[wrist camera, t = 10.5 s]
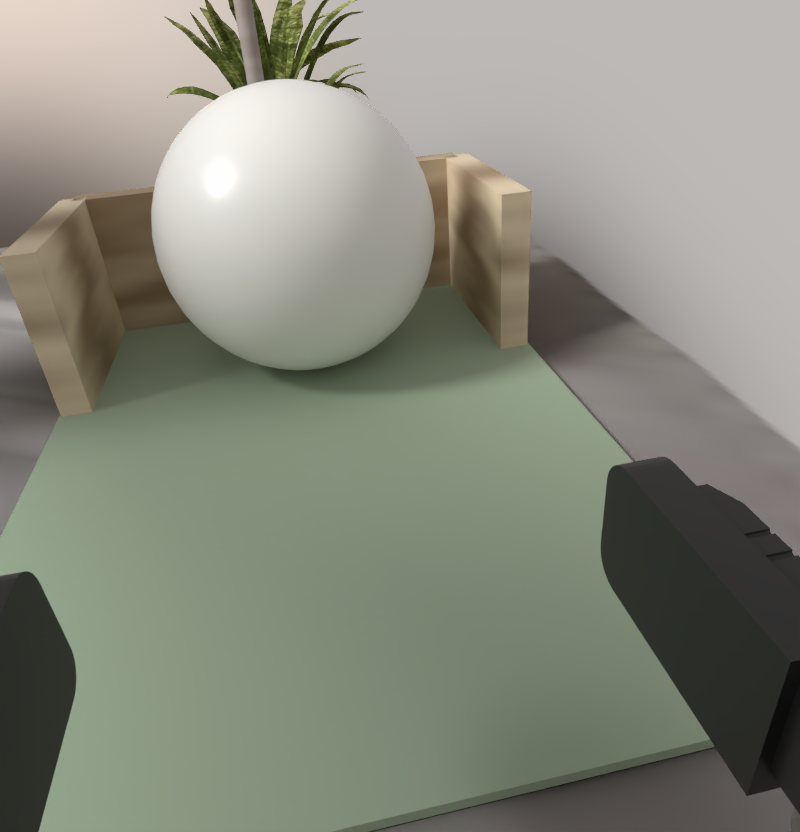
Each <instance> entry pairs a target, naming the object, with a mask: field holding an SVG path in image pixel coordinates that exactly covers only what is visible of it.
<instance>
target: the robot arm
mask: <svg viewBox="0 0 800 832" xmlns="http://www.w3.org/2000/svg"><path fill="white" fill-rule="evenodd" d="M601 559H602V564H603V568H604V571H605V574H606V577H607V580H608V582H609V584H610V586H611V588H612V589H613V591H614V592H615V594H616V595H617V597H618V599H619V600H620V602H621V603H622V605H623V606H624V608H625V609H626V611H627V612H628V614H629V615H630V617H631V619H632V620H633V622H634V623H635V625H636V626H637V628H638V629H639V631H640V632H641V634H642V635H643V637H644V639H645V640H646V642H647V643H648V645H649V646H650V648H651V649H652V651H653V652H654V654H655V655H656V657H657V658H658V660H659V662H660V663H661V665H662V666H663V668H664V669H665V671H666V672H667V674H668V675H669V677H670V678H671V680H672V682H673V683H674V685H675V686H676V688H677V689H678V691H679V692H680V694H681V695H682V697H683V698H684V700H685V701H686V703H687V705H688V706H689V708H690V709H691V711H692V712H693V714H694V715H695V717H696V718H697V720H698V721H699V723H700V725H701V726H702V728H703V729H704V731H705V732H706V734H707V735H708V737H709V738H710V740H711V741H712V743H713V745H714V746H715V748H716V749H717V751H718V752H719V754H720V755H721V757H722V758H723V760H724V761H725V763H726V764H727V766H728V768H729V769H730V771H731V772H732V774H733V775H734V777H735V778H736V780H737V781H738V783H739V784H740V786H741V788H742V789H743V791H744V792H745V794H746V795H747V796H748V795H752V794H756V793H760V792H764V791H768V790H772V789H775V788H779V787H781V788H782V790H783V791H784V793H785V794H786V795H787V797H788V798H789V800H790V801H791V803H792V804H793V805H794V807H795V809H794V811H793V814H792V818H791V832H800V557H799V556H794V555H793V553H792V549H791V548H790V547H789V546H787V545H786V544H785V543H784V542H783V541H782V540H781V539H780V538H779V537H778V536H777V535H776V534H771V533H770V528H769V527H768V526H767V525H765V524H764V523H763V522H762V521H761V520H760V519H759V518H758V517H757V516H756V515H755V514H754V513H753V512H752V511H751V510H750V509H749V508H748V507H747V506H746V505H744V504H743V503H742V502H740V501H738V500H736V499H734V498H732V497H730V496H728V495H727V494H725V493H723V492H721V491H719V490H717V489H715V488H713V487H712V486H710V485H708V484H706V485H701V486H696V485H695V484H694V483H693V482H692V481H691V480H690V479H689V478H688V477H687V476H686V475H685V474H684V473H683V472H682V471H681V470H680V469H679V468H678V467H677V466H676V465H675V464H674V463H673V462H672V461H671V460H670V459H668V458H666V457H658V458H653V459H647V460H642V461H636V462H631V463H625V464H620V465H615V466H613V467H612V468H611V469H610V471H609V473H608V477H607V485H606V495H605V505H604V515H603V525H602V536H601ZM75 691H76V666H75V660H74V655H73V652H72V649H71V647H70V645H69V643H68V641H67V639H66V636H65V634H64V632H63V630H62V628H61V626H60V624H59V622H58V620H57V618H56V616H55V614H54V611H53V609H52V607H51V605H50V603H49V601H48V599H47V597H46V595H45V593H44V591H43V589H42V586H41V584H40V583H39V581H38V579H37V578H36V576H35V575H34V574H32V573H31V572H29V571H24V572H19V573H13V574H8V575H2V576H0V832H39V828H40V824H41V821H42V817H43V813H44V810H45V806H46V802H47V798H48V795H49V791H50V787H51V783H52V780H53V776H54V772H55V768H56V765H57V761H58V757H59V753H60V750H61V746H62V742H63V738H64V735H65V731H66V727H67V723H68V720H69V716H70V712H71V708H72V705H73V701H74V697H75Z"/></svg>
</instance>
